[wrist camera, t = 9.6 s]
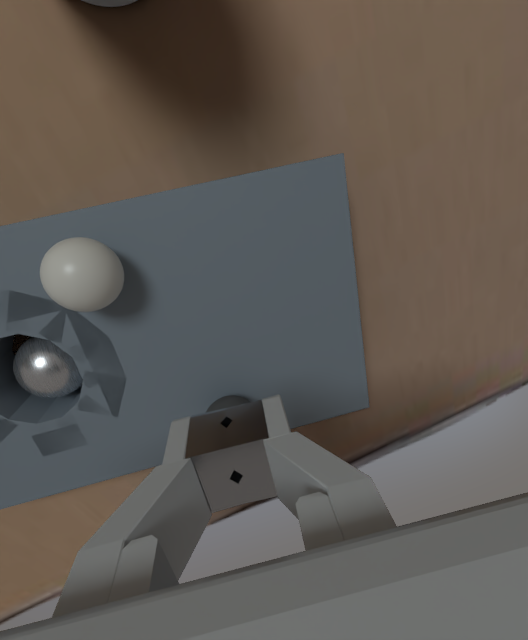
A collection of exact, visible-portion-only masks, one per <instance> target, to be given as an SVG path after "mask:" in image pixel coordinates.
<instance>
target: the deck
mask: <svg viewBox="0 0 528 640" xmlns="http://www.w3.org/2000/svg"><path fill="white" fill-rule="evenodd" d="M74 237H84V238H90V239H94V240H97V241H99V242H101V243H103V244H105V245H106V246H108V247H109V248H110V249H111V250H112V251H113V252H114V253H115V254H116V255H117V256H118V258H119V260H120V261H121V264H122V266H123V270H124V284H123V288H122V290H121V292H120V294H119V295H118V297H117V298H116V299H115V300H114V301H113V302H112V303H111V304H110V305H108V306H106V307H104V308H102V309H100V310H96V311H92V312H78V311H73V310H69V309H67V308H64V307H63V306H61V305H59V304H58V303H56V302H55V301H54V300H52V299H51V298H50V296H49V295H48V294H47V293H46V291H45V289H44V288H43V285H42V283H41V279H40V266H41V262H42V259H43V257H44V255H45V254H46V252H47V251H48V250H49V249H50V248H51V247H52V246H53V245H55V244H56V243H58V242H60V241H62V240H65V239H68V238H74ZM16 334H22V335H27V336H31V337H36V338H41V339H46V340H49V341H51V342H52V343H54V344H55V345H56V346H58V347H59V348H60V349H62V350H63V351H64V352H66V353H67V354H69V355H70V356H71V357H73V359H74V362H75V364H76V366H77V368H78V370H79V372H80V374H81V376H82V379H83V383H82V385H81V386H80V387H79V388H78V389H77V390H75V391H73V392H72V393H70V394H67V395H64V396H61V397H54V398H45V397H40V396H36V395H34V394H31V393H29V392H28V391H26V390H25V389H24V388H22V387H21V385H20V384H19V383H18V381H17V380H16V378H15V375H14V371H13V362H14V358H15V355H14V353H13V351H12V348H13V339H14V335H16ZM277 394H279V395H280V396H281V399H282V403H283V406H284V410H285V413H286V416H287V420H288V423H289V427H290V429H292V428H296V427H300V426H303V425H307V424H310V423H314V422H318V421H321V420H325V419H329V418H332V417H336V416H339V415H343V414H347V413H350V412H354V411H357V410H361V409H365V408H368V407H369V398H368V389H367V379H366V369H365V359H364V349H363V340H362V330H361V320H360V310H359V300H358V291H357V281H356V271H355V261H354V251H353V242H352V232H351V222H350V212H349V202H348V193H347V183H346V173H345V163H344V153H341V154H337V155H332V156H327V157H323V158H318V159H313V160H309V161H304V162H299V163H295V164H290V165H285V166H281V167H276V168H271V169H267V170H262V171H257V172H253V173H248V174H243V175H239V176H234V177H229V178H225V179H220V180H215V181H210V182H206V183H201V184H196V185H192V186H187V187H182V188H178V189H173V190H168V191H164V192H159V193H154V194H150V195H145V196H140V197H136V198H131V199H126V200H122V201H117V202H112V203H108V204H103V205H98V206H94V207H89V208H84V209H79V210H75V211H70V212H65V213H61V214H56V215H51V216H47V217H42V218H37V219H33V220H28V221H23V222H19V223H14V224H9V225H5V226H0V509H3V508H7V507H11V506H14V505H18V504H21V503H25V502H29V501H32V500H36V499H39V498H43V497H47V496H50V495H54V494H57V493H61V492H65V491H68V490H72V489H76V488H79V487H83V486H86V485H90V484H94V483H97V482H101V481H104V480H108V479H112V478H115V477H119V476H123V475H126V474H130V473H133V472H137V471H141V470H144V469H148V468H151V467H155V466H159V465H162V463H163V458H164V453H165V449H166V444H167V439H168V435H169V430H170V426H171V423H172V421H173V420H176V419H180V418H184V417H188V416H192V415H197V414H201V413H206V411H207V409H208V408H209V406H210V405H211V404H212V403H213V402H215V401H216V400H217V399H219V398H221V397H224V396H229V395H236V396H241V397H243V398H246V399H247V400H249V401H250V402H253V401H257V400H262V399H263V398H267V397H270V396H274V395H277Z"/></svg>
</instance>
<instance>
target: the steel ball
mask: <svg viewBox="0 0 528 640" xmlns="http://www.w3.org/2000/svg"><path fill="white" fill-rule="evenodd" d="M13 371H14V375H15V378H16V380H17V381H18V383H19V384H20V385H21V387H22V388H24V389H25V390H26V391H28V392H29V393H31V394H34V395H36V396H40V397H45V398H54V397H61V396H64V395H67V394H70V393H72V392H73V391H75V390H77V389H78V388H79V387H80V386H81V385H82V383H83V379H82V376H81V374H80V372H79V370H78V368H77V366H76V364H75V362H74V359H73V357H71V356H70V355H69V354H67V353H66V352H64V351H63V350H62V349H60V348H59V347H58V346H56V345H55V344H54V343H52V342H51V341H49V340H46V339H41V338H36V337H31V338H29V339H28V340H26V341H25V342H24V343H23V344H22V345H21V346H20V348H19V349H18V351H17V353H16V355H15V358H14V362H13Z"/></svg>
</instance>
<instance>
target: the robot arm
mask: <svg viewBox="0 0 528 640" xmlns="http://www.w3.org/2000/svg"><path fill="white" fill-rule="evenodd" d="M276 496H278V498H279V499H280V501H281V502H282V503H283V504H284V505H285V506H286V507H287V508H288V509H289V510H290V511H291V512H292V513H293V514H294V515H295V516H296V517H297V518H298V520H299V523H300V527H301V531H302V536H303V541H304V545H305V550H306V551H303V552H300V553H296V554H292V555H288V556H285V557H281V558H277V559H273V560H269V561H265V562H262V563H258V564H254V565H250V566H247V567H243V568H239V569H235V570H232V571H228V572H224V573H220V574H216V575H213V576H209V577H205V578H201V579H198V580H193V581H190V582H186V583H182V584H179V583H178V580H179V578H180V576H181V574H182V572H183V570H184V568H185V566H186V564H187V563H188V561H189V559H190V557H191V555H192V553H193V551H194V549H195V547H196V545H197V543H198V541H199V539H200V537H201V535H202V533H203V531H204V529H205V528H206V526H207V524H208V522H209V520H210V518H211V516H212V514H211V513H213V512H217V511H220V510H224V509H227V508H231V507H234V506H238V505H241V504H245V503H249V502H254V501H258V500H263V499H267V498H272V497H276ZM0 640H528V493H524V494H520V495H516V496H512V497H509V498H505V499H501V500H497V501H493V502H490V503H486V504H482V505H479V506H474V507H471V508H467V509H463V510H459V511H455V512H452V513H448V514H444V515H440V516H437V517H433V518H429V519H425V520H421V521H418V522H414V523H410V524H406V525H402V526H399V527H397V526H396V524H395V522H394V520H393V519H392V517H391V515H390V513H389V511H388V509H387V507H386V505H385V503H384V502H383V500H382V498H381V496H380V494H379V492H378V490H377V488H376V486H375V484H374V482H373V481H372V479H371V477H369V476H368V475H366V474H364V473H363V472H361V471H360V470H358V469H356V468H355V467H353V466H352V465H350V464H348V463H347V462H345V461H344V460H342V459H340V458H339V457H337V456H335V455H334V454H332V453H331V452H329V451H327V450H326V449H324V448H323V447H321V446H319V445H318V444H316V443H314V442H313V441H311V440H310V439H308V438H306V437H305V436H303V435H302V434H300V433H298V432H292V433H291V430H290V427H289V423H288V420H287V416H286V413H285V410H284V406H283V403H282V399H281V396H280V395H279V394H277V395H274V396H270V397H267V398H263V399H262V400H257V401H253V402H249V403H246V404H242V405H238V406H234V407H230V408H224V409H219V410H215V411H210V412H206V413H201V414H197V415H192V416H188V417H184V418H180V419H176V420H173V421H172V423H171V426H170V430H169V435H168V439H167V444H166V449H165V453H164V458H163V463H162V465H160V466H156V467H155V468H154V470H153V471H152V472H151V473H150V474H149V475H148V476H147V477H146V478H145V479H144V480H143V481H142V483H141V484H140V485H139V486H138V487H137V488H136V489H135V490H134V491H133V492H132V493H131V495H130V496H129V497H128V498H127V499H126V500H125V501H124V502H123V503H122V504H121V505H120V507H119V508H118V509H117V510H116V511H115V512H114V513H113V514H112V515H111V516H110V517H109V519H108V520H107V521H106V522H105V523H104V524H103V525H102V526H101V527H100V528H99V529H98V531H97V532H96V533H95V534H94V535H93V536H92V537H91V538H90V539H89V540H88V541H87V543H86V544H85V545H84V546H83V547H82V548H81V549H80V550H79V551H78V553H77V556H76V558H75V561H74V563H73V566H72V568H71V571H70V573H69V576H68V578H67V581H66V583H65V586H64V588H63V591H62V593H61V596H60V598H59V602H58V603H57V606H56V609H55V611H54V614H53V616H52V618H49V619H46V620H42V621H38V622H34V623H30V624H27V625H23V626H19V627H15V628H11V629H8V630H4V631H0Z"/></svg>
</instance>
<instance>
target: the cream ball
mask: <svg viewBox="0 0 528 640" xmlns="http://www.w3.org/2000/svg"><path fill="white" fill-rule="evenodd" d="M40 279H41V283H42V285H43V288H44V289H45V291H46V293H47V294H48V295H49V296H50V298H51V299H52V300H54V301H55V302H56V303H58V304H59V305H61V306H63V307H64V308H67V309H69V310H73V311H78V312H92V311H96V310H100V309H102V308H104V307H106V306H108V305H110V304H111V303H112V302H113V301H114V300H115V299H116V298H117V297H118V295H119V294H120V292H121V290H122V288H123V284H124V270H123V266H122V264H121V261H120V260H119V258H118V256H117V255H116V254H115V253H114V252H113V251H112V250H111V249H110V248H109V247H108V246H106V245H105V244H103V243H101V242H99V241H97V240H94V239H90V238H84V237H74V238H68V239H65V240H62V241H60V242H58V243H56V244H55V245H53V246H52V247H51V248H50V249H49V250H48V251H47V252H46V254H45V255H44V257H43V259H42V262H41V266H40Z"/></svg>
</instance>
